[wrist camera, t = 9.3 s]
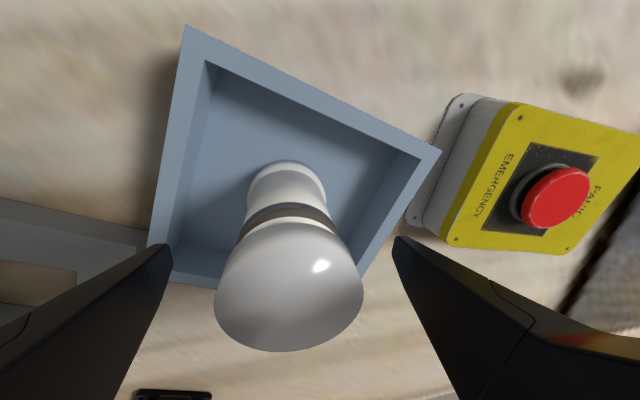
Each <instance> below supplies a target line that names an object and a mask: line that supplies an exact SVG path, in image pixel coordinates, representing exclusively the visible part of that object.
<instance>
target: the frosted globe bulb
mask: <svg viewBox="0 0 640 400" xmlns="http://www.w3.org/2000/svg"><path fill="white" fill-rule="evenodd" d="M247 208H248V209H247V213H246V216H245V220H244V224H243V227H242V229H241V231H240V233H239V236H238V240H237V243H236V247H235V248H234V249H233V250H232V252H231V253H230V255H229V256H228V259H227V261H226V263H225V267H224V270H223V273H222V276H221V279H220V282H219V285H218V289H217V292H216V295H215V300H214V311H215V316H216V319H217V321H218V323H219V325H220V327H221V328H222V329H223V330H224V332H225V333H226V334H227V335H229V336H230V337H231V338H232V339H234V340H235V341H237V342H239V343H241V344H243V345H245V346H248V347H250V348H253V349H257V350H262V351H269V352H290V351H298V350H303V349H307V348H311V347H314V346H317V345H319V344H322V343H324V342H326V341H328V340H330V339H332V338H334V337H335V336H337V335H338V334H340V333H341V332H342V331H343V330H345V329H346V328H347V327H348V326H349V325H350V324H351V323H352V321H353V320H354V319H355V318H356V316H357V314H358V312H359V310H360V308H361V306H362V302H363V294H364V291H363V284H362V281H361V278H360V276H359V273H358V271H357V269H356V266H355V264H354V261H353V259H352V256H351V254H350V252H349V250H348V248H347V246H346V245H345V244H344V242H343V241H342V240H341V239H340V238H339V235H338V232H337V230H336V227H335V225H334V223H333V222H332V220H331V217H330V214H329V212H328V209H327V206H326V195H325V191H324V188H323V186H322V183H321V181H320V179H319V177H318V175H317V174H316V173H315V172H314V170H313V169H311V168H310V167H309V166H307V165H306V164H304V163H302V162H299V161H295V160H287V159H285V160H277V161H274V162H271V163H269V164H267V165H265V166H264V167H262V168H261V169H260V170H259V171H258V172H257V173H256V175H255V176H254V178H253V180H252V182H251V185H250V188H249V191H248V195H247Z"/></svg>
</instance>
